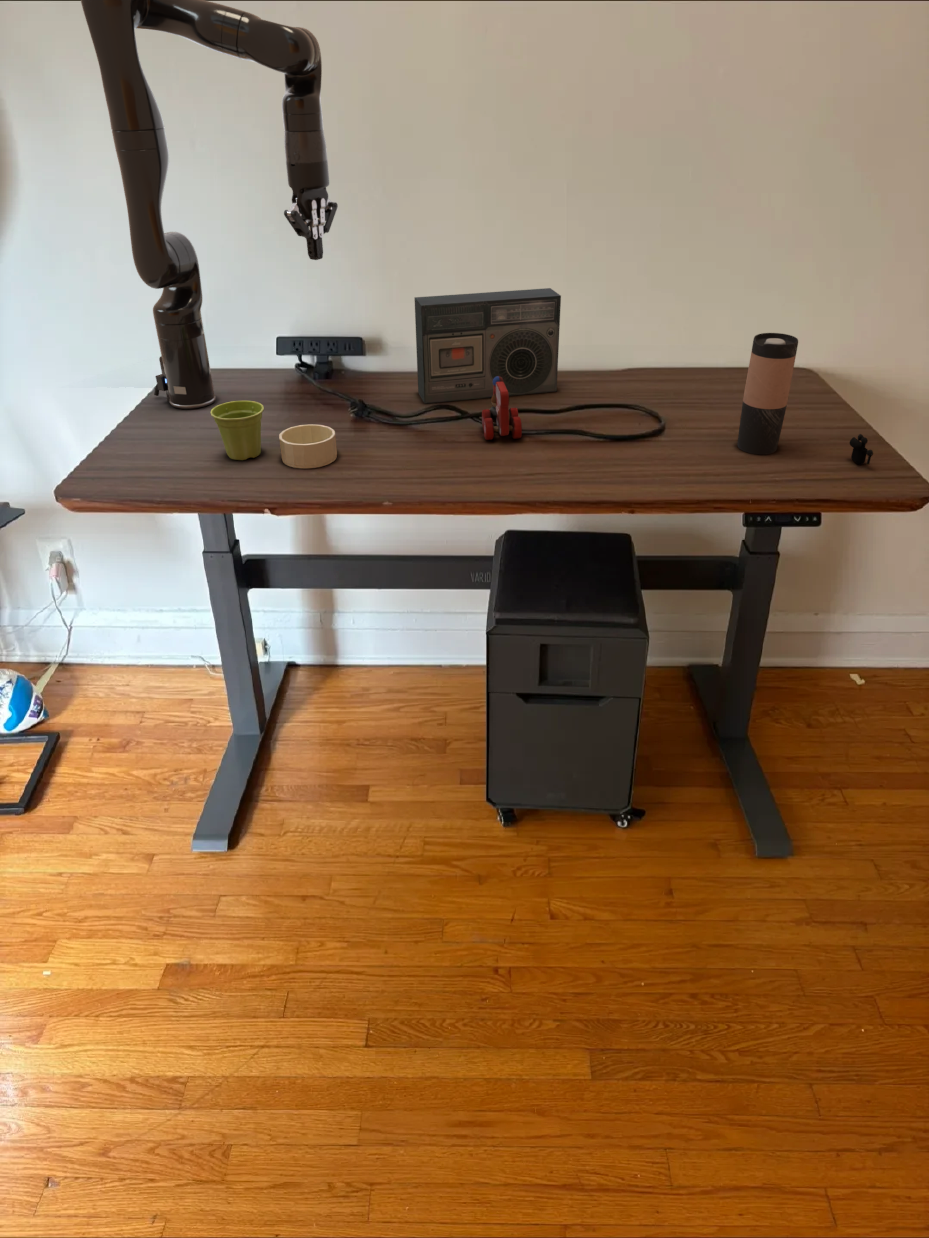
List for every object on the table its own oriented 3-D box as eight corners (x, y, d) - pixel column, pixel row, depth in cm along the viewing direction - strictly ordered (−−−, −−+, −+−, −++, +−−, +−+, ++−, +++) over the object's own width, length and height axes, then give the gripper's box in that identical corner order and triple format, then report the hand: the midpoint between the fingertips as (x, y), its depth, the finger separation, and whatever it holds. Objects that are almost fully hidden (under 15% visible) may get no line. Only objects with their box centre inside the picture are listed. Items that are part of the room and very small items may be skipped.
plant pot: (258, 466, 161) (251, 420, 157) (209, 462, 163) (201, 416, 158) (277, 446, 169) (271, 402, 164) (230, 443, 171) (223, 399, 166)
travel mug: (779, 442, 168) (799, 334, 157) (777, 457, 162) (798, 346, 151) (737, 437, 170) (754, 331, 160) (733, 452, 164) (751, 342, 154)
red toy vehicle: (515, 421, 179) (516, 369, 173) (522, 444, 169) (524, 390, 163) (480, 422, 179) (480, 371, 173) (486, 446, 168) (486, 392, 162)
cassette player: (424, 403, 188) (421, 305, 177) (418, 393, 194) (414, 297, 183) (556, 391, 194) (560, 295, 183) (546, 381, 199) (550, 288, 189)
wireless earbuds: (871, 470, 157) (878, 443, 154) (857, 471, 157) (864, 444, 154) (851, 454, 163) (857, 428, 160) (838, 455, 163) (844, 429, 160)
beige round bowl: (270, 461, 163) (267, 437, 161) (307, 443, 170) (304, 420, 168) (312, 472, 159) (309, 449, 156) (348, 454, 166) (346, 431, 163)
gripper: (315, 154, 169) (323, 251, 179) (265, 161, 160) (277, 263, 170) (345, 156, 166) (353, 255, 175) (297, 163, 157) (307, 267, 166)
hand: (316, 259), depth 172 cm, fingers closed
